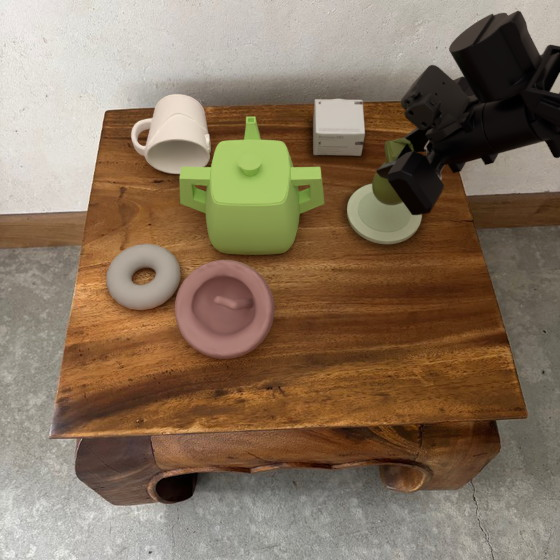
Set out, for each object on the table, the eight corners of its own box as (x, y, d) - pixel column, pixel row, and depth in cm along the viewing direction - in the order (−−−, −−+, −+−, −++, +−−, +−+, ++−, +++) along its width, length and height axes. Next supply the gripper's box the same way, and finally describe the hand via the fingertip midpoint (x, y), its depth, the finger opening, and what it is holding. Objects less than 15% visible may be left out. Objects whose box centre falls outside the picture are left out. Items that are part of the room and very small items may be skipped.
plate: (422, 191, 84) (424, 187, 83) (418, 249, 78) (419, 246, 77) (351, 181, 85) (351, 177, 84) (341, 238, 79) (342, 234, 79)
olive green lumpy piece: (412, 212, 74) (428, 159, 66) (373, 214, 74) (384, 161, 66) (403, 181, 77) (418, 127, 69) (366, 184, 77) (376, 129, 69)
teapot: (193, 164, 87) (179, 99, 76) (319, 164, 87) (324, 99, 76) (181, 262, 77) (164, 203, 66) (323, 262, 77) (330, 203, 66)
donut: (190, 302, 74) (173, 244, 79) (186, 290, 71) (169, 230, 76) (116, 324, 72) (104, 263, 77) (109, 312, 70) (97, 249, 74)
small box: (312, 156, 88) (314, 132, 83) (312, 122, 92) (314, 97, 87) (361, 157, 88) (365, 133, 83) (359, 122, 92) (363, 98, 87)
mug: (212, 131, 91) (207, 92, 84) (212, 173, 86) (206, 136, 79) (139, 134, 90) (128, 95, 84) (135, 177, 86) (123, 140, 79)
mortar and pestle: (172, 365, 69) (154, 325, 59) (196, 285, 75) (183, 236, 66) (266, 380, 68) (263, 342, 58) (282, 298, 74) (282, 250, 64)
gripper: (493, 13, 59) (384, 67, 71) (423, 118, 51) (314, 158, 63) (537, 97, 63) (428, 134, 76) (479, 206, 55) (367, 227, 68)
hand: (387, 160), depth 71 cm, fingers closed on olive green lumpy piece, 5 cm apart
